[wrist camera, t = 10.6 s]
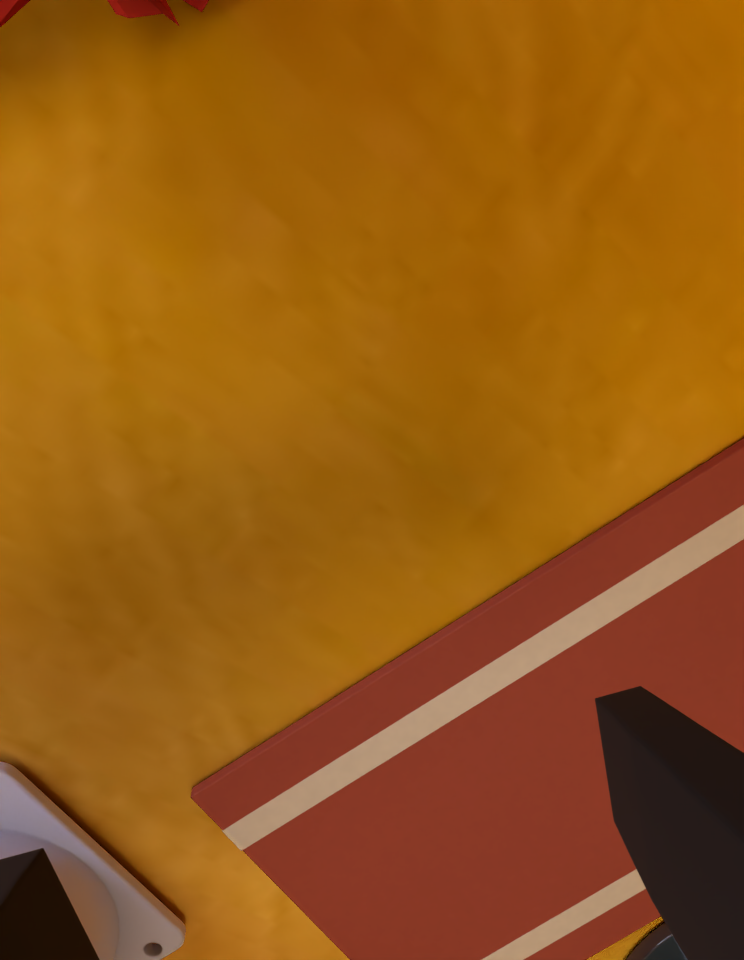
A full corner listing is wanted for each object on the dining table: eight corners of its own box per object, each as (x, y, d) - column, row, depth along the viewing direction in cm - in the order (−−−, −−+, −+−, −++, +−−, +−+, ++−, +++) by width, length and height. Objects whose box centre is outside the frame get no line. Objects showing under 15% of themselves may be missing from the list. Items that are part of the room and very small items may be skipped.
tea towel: (432, 1034, 24) (435, 1048, 23) (191, 787, 20) (189, 798, 19) (910, 758, 22) (921, 767, 22) (756, 429, 18) (766, 432, 18)
